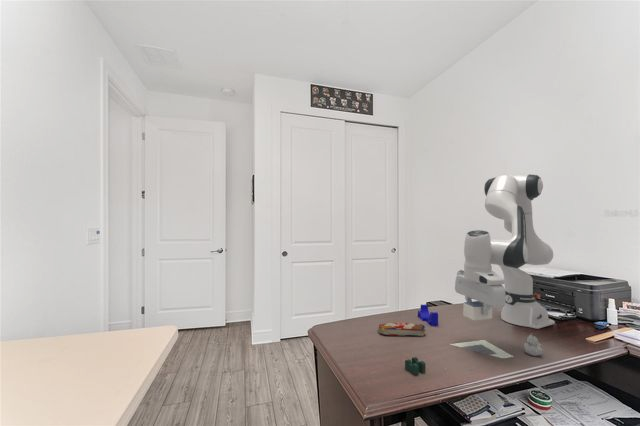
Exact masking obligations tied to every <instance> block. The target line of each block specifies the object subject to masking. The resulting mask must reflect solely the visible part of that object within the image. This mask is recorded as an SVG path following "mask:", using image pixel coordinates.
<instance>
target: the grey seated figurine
mask: <svg viewBox="0 0 640 426" xmlns="http://www.w3.org/2000/svg"><path fill="white" fill-rule="evenodd" d="M523 349H524V352H525V353H526V354H527V355H529V354H530V355H529V356H532V357H533V356H534V357H538V356H542V355H543V348H542V344H541V343H540V342H539V340H538V338H537V336H535V335H533V333H530V334H529V335H528V336H527V339H526V342H525V343H524V344H523Z"/></svg>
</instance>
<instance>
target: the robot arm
mask: <svg viewBox="0 0 640 426" xmlns="http://www.w3.org/2000/svg"><path fill="white" fill-rule="evenodd" d="M543 188H544V184H543V180H542V178H541V177H540V176H539V174H538V175H537V174H510V175H509V174H502V175H499V176H496V177H492V178H489V179H487V180H486V182H485V183H484V194H485V199H484V208H485V209H486V212H488V214H490V215H491V216H493V217H494V218H497V219H499V220H502V221H503V226H504V229H505V230H506V231H507V232H509V233H511V237H510V239H497V238H491V236H490V235H491V234H490V232H489V231H486V230H482V229H481V230H479V229H477V230H476V229H475V230H470V231H468V232H467V233H466V235H465V240H464V247H463V248H464V249H463V253H464V259H465V261H464V265H463V269H464V270H462V269H460V270H458V271H457V272H456V278H455V283H454V290H455V293H456V294H459V295H463V296H464V299H465V302H473V300H475V301H479V302H482V303H483V306H485V307H484V309H482V310H481V314H482V315H484V316H488V311H489V309H490V308H491V306H492V308H493V309H500V308H502V310H501V312H500V318H501V320H503V321H504V322H507V323H508V324H509V323H510V324H512V325H515V326H516V325H517V326H520V327H527V328H531V329H542V328H545V327H549V326H552V325H555V324H556V323H555V322H556V321H555V320H553V319H551V318H549V313H548V310H547V308H546V307H544V306H543V305H541V304H540V303H539V302H538V301H537V299H540V298H541V295H540V294H539V293H538V294H537V293H533V291H534V290H533V287H534V283H533V282H534V279H533V277H532V275H530V273H528V272H526V271H524V270H522V269H520V268H521V267H523V266H524V265H531V266H542V265H548V264H550V263H551V262H552V260H553V258H554V251H553V248H552V247H551V246H550V245H549V244H548V243H546V242H544V241H543V240H542V239H541V238H539V236H538V235H537V234H536V231H535V229H534V223H533V221H534V220H533V203H532V201H533V200H534V199H536V198H538V197H539V196H540V195H541V194H542V191H543ZM492 265H497V266H499V267H500V270H501V272H502V273H503V277H502V276H501V275H499V274H497V273H496V271H493V270H492V267H493V266H492Z"/></svg>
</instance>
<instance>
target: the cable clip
mask: <svg viewBox="0 0 640 426" xmlns="http://www.w3.org/2000/svg"><path fill="white" fill-rule="evenodd" d="M417 317H418V318H419V319H420V320H421V321H422V322H426V323H427V324H429V325H430V326H431V327H439V313H438V311H436V312H435V311H433V312H432V311H431V312H429V305H428V304H420V310H417Z"/></svg>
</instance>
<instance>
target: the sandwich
mask: <svg viewBox="0 0 640 426" xmlns="http://www.w3.org/2000/svg"><path fill="white" fill-rule="evenodd" d="M426 331H427V329H426V326H425V325H424V324H421V323H420V324H418V323H413V322H412V323H411V322H409V323H408V322H390V323H380V324H379V325H378V333H379V334H380V335H384V336H385V335H386V336H389V337H390V336H391V337H393V336H394V337H402V336H407V337H408V336H410V337H423V336H425V335H426V333H425V332H426Z"/></svg>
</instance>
